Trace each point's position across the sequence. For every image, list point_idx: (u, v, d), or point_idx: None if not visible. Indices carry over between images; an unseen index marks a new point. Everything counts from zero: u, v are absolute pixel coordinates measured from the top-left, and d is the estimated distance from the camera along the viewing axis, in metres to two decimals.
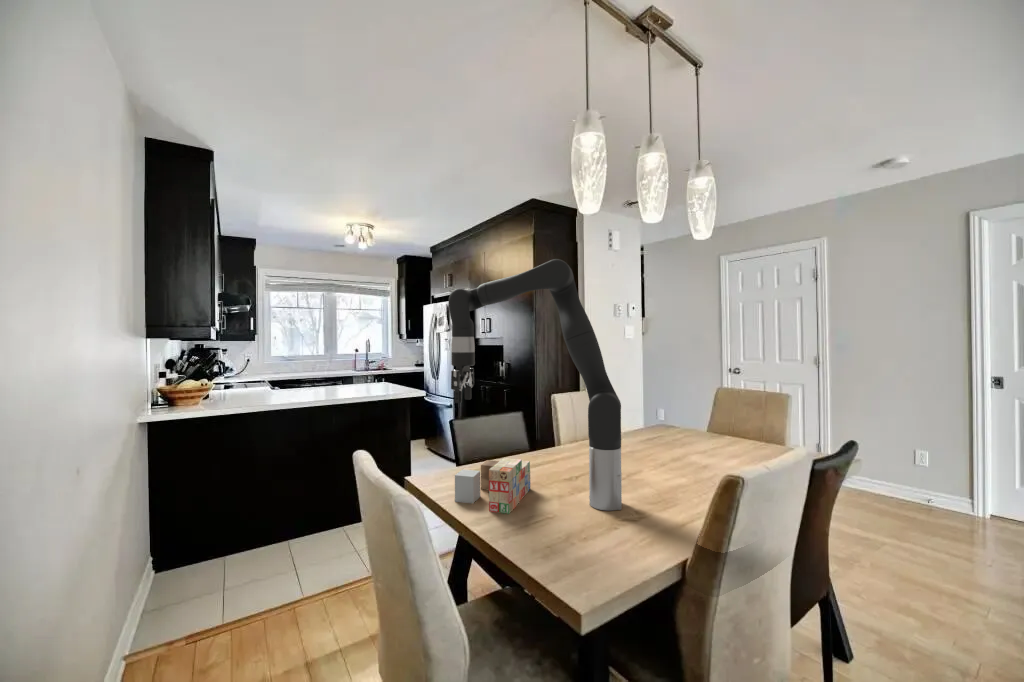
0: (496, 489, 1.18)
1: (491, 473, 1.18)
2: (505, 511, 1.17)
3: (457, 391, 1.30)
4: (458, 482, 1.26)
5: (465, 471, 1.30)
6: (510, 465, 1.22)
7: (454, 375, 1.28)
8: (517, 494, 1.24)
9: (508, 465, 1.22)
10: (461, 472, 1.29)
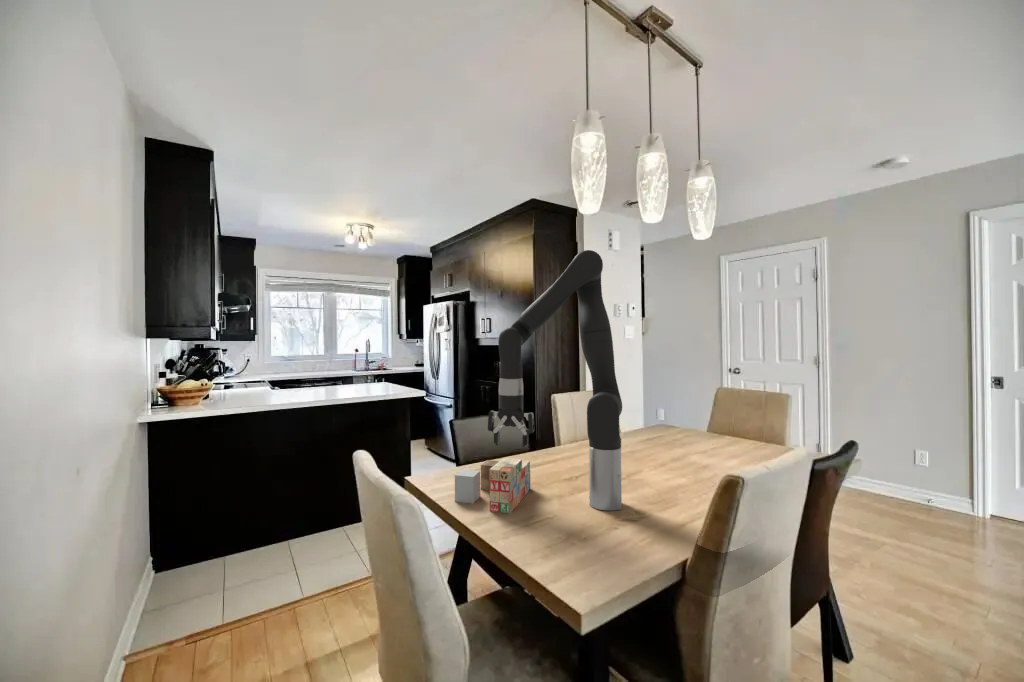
0: (496, 489, 1.18)
1: (491, 473, 1.19)
2: (505, 511, 1.17)
3: (528, 434, 1.27)
4: (458, 482, 1.26)
5: (465, 471, 1.30)
6: (510, 465, 1.22)
7: (532, 418, 1.26)
8: (517, 494, 1.24)
9: (508, 465, 1.22)
10: (461, 472, 1.29)
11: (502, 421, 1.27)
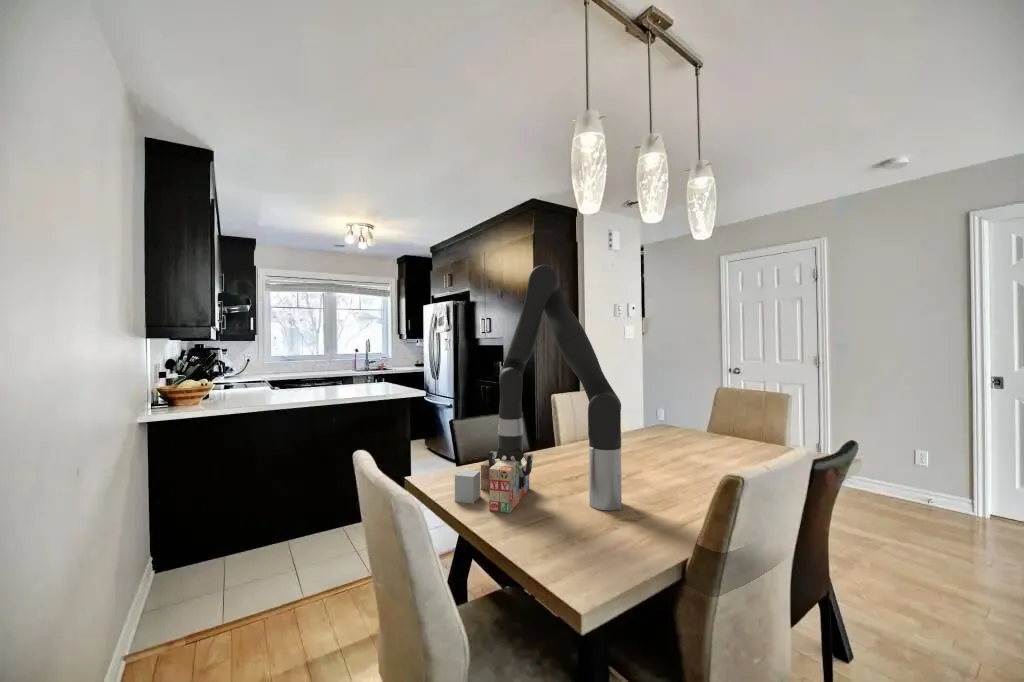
0: (496, 488, 1.18)
1: (491, 472, 1.19)
2: (505, 510, 1.18)
3: None
4: (458, 482, 1.26)
5: (465, 471, 1.30)
6: (510, 464, 1.22)
7: (531, 460, 1.26)
8: (517, 493, 1.24)
9: (508, 464, 1.22)
10: (461, 472, 1.29)
11: None
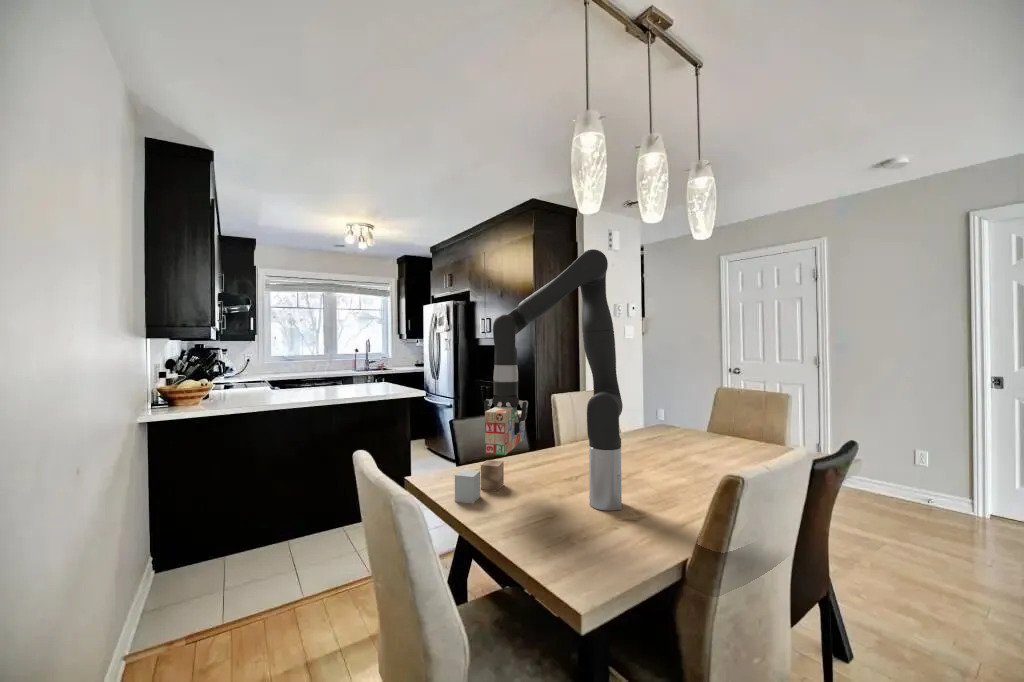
0: (492, 431, 1.19)
1: (487, 415, 1.20)
2: (501, 452, 1.18)
3: (520, 422, 1.28)
4: (458, 482, 1.26)
5: (465, 471, 1.30)
6: (506, 409, 1.23)
7: (526, 406, 1.27)
8: (512, 438, 1.25)
9: (504, 409, 1.23)
10: (461, 472, 1.29)
11: None
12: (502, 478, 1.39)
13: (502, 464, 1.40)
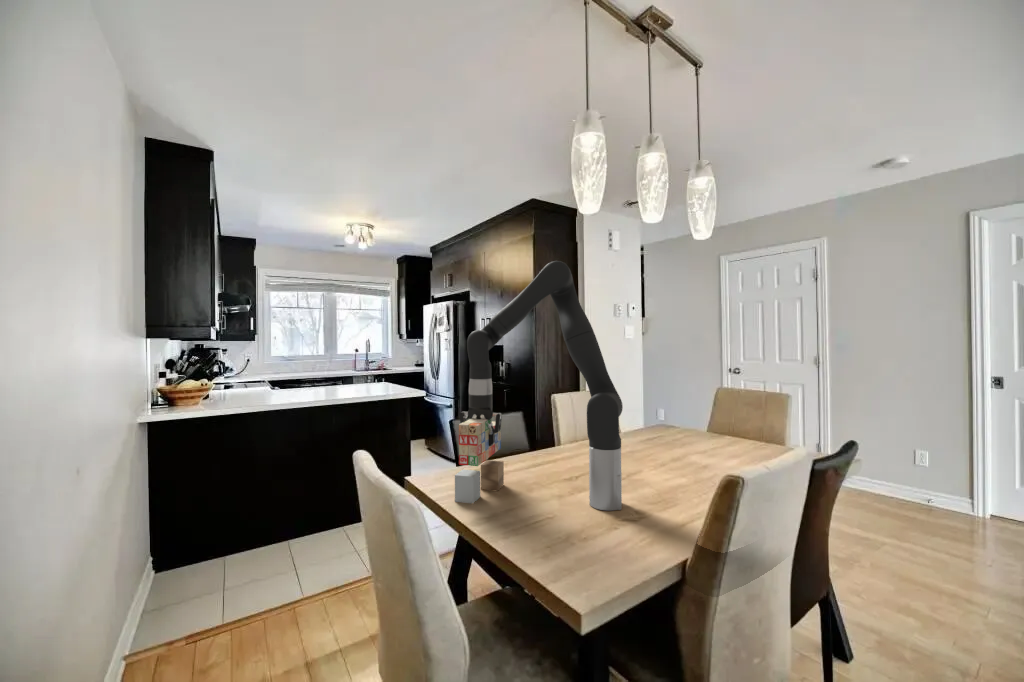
0: (465, 443, 1.24)
1: (461, 428, 1.25)
2: (474, 463, 1.23)
3: (494, 433, 1.33)
4: (458, 482, 1.26)
5: (465, 471, 1.30)
6: (479, 421, 1.28)
7: (500, 418, 1.32)
8: (486, 449, 1.30)
9: (477, 421, 1.28)
10: (461, 472, 1.29)
11: None
12: (502, 478, 1.39)
13: (502, 464, 1.40)
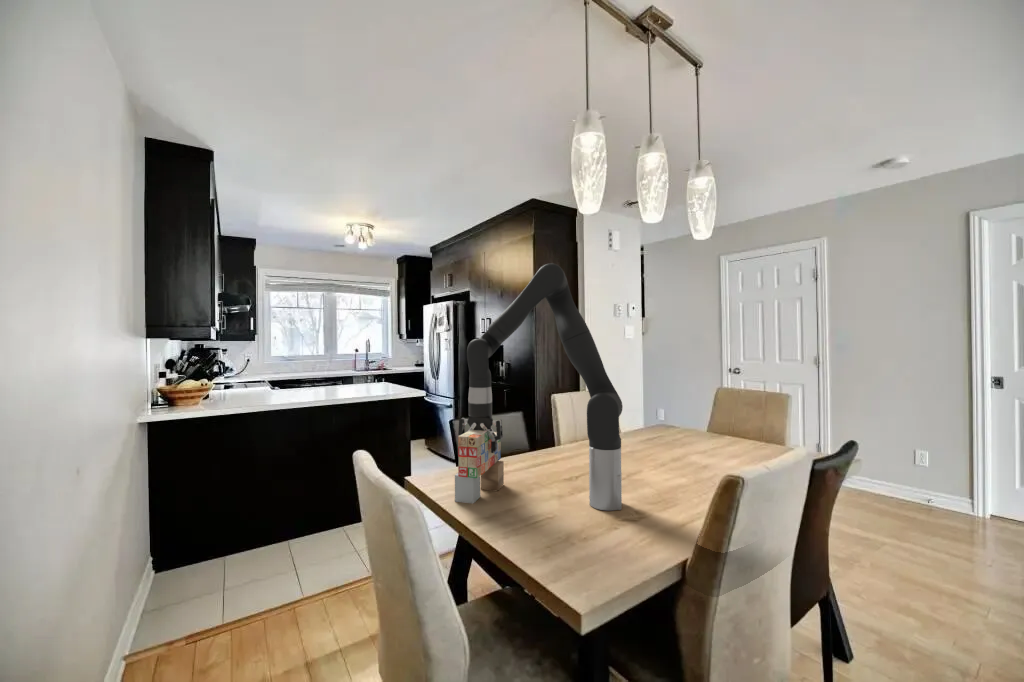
0: (465, 454, 1.24)
1: (460, 439, 1.25)
2: (473, 475, 1.23)
3: (496, 440, 1.32)
4: (458, 482, 1.26)
5: None
6: (479, 433, 1.28)
7: (500, 425, 1.32)
8: (486, 461, 1.30)
9: (477, 433, 1.28)
10: None
11: (472, 428, 1.32)
12: (502, 478, 1.39)
13: (502, 464, 1.40)
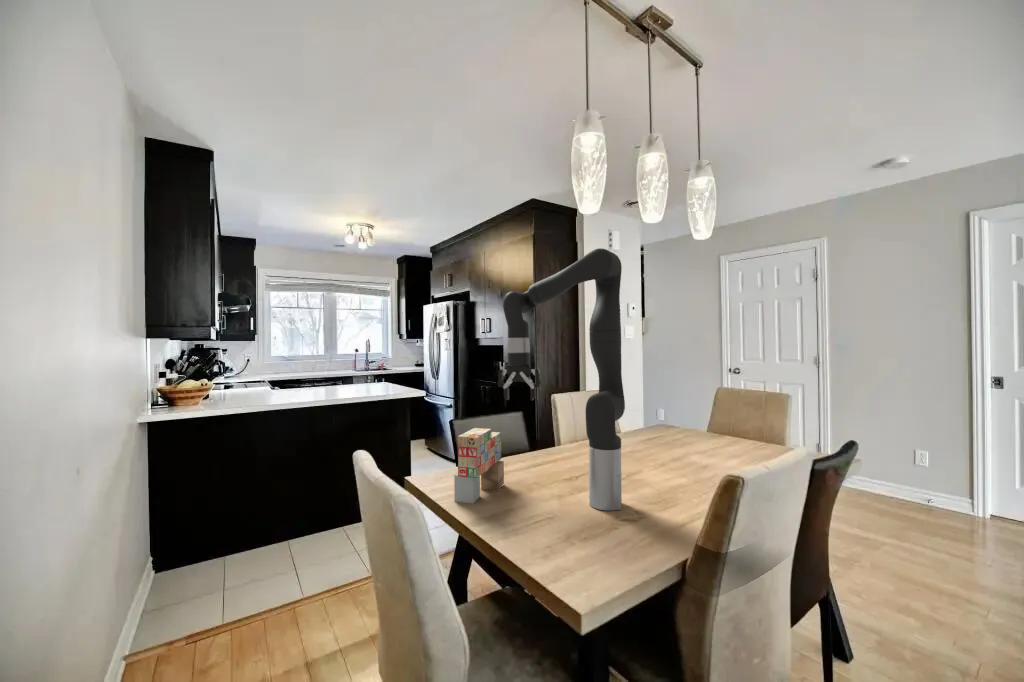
0: (464, 454, 1.24)
1: (460, 439, 1.25)
2: (473, 475, 1.24)
3: (535, 388, 1.39)
4: (457, 482, 1.26)
5: None
6: (479, 433, 1.28)
7: (539, 373, 1.38)
8: (486, 461, 1.30)
9: (477, 433, 1.28)
10: None
11: (511, 377, 1.39)
12: (502, 478, 1.39)
13: (502, 464, 1.40)
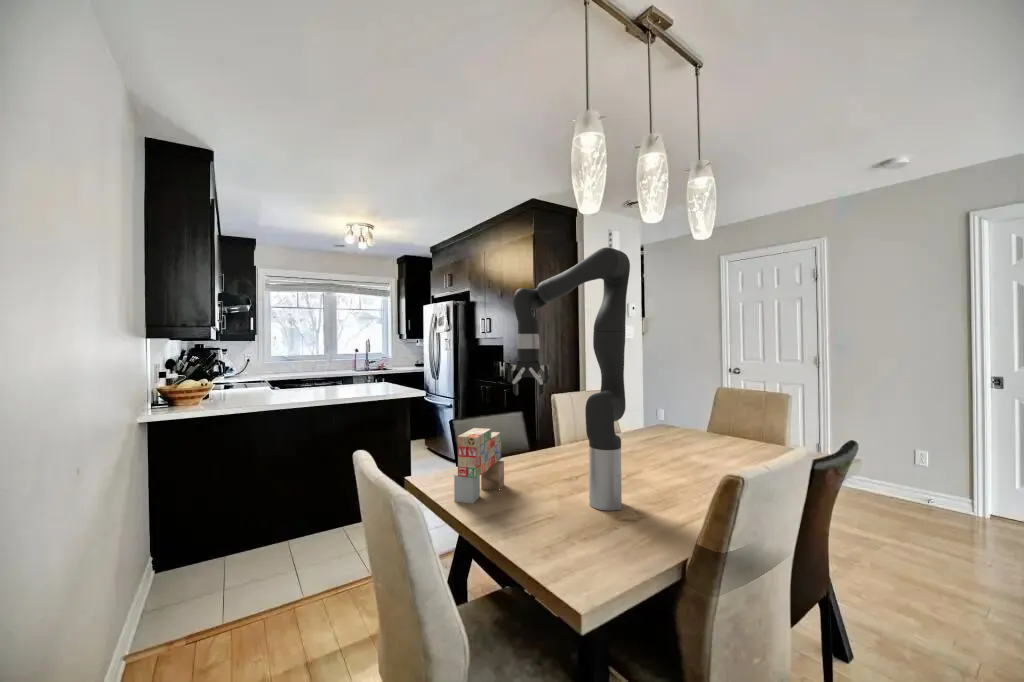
0: (464, 454, 1.24)
1: (460, 439, 1.25)
2: (473, 475, 1.23)
3: None
4: (457, 482, 1.26)
5: None
6: (478, 433, 1.28)
7: (548, 369, 1.40)
8: (486, 461, 1.30)
9: (477, 433, 1.28)
10: None
11: (520, 372, 1.41)
12: (502, 478, 1.39)
13: (502, 464, 1.40)
